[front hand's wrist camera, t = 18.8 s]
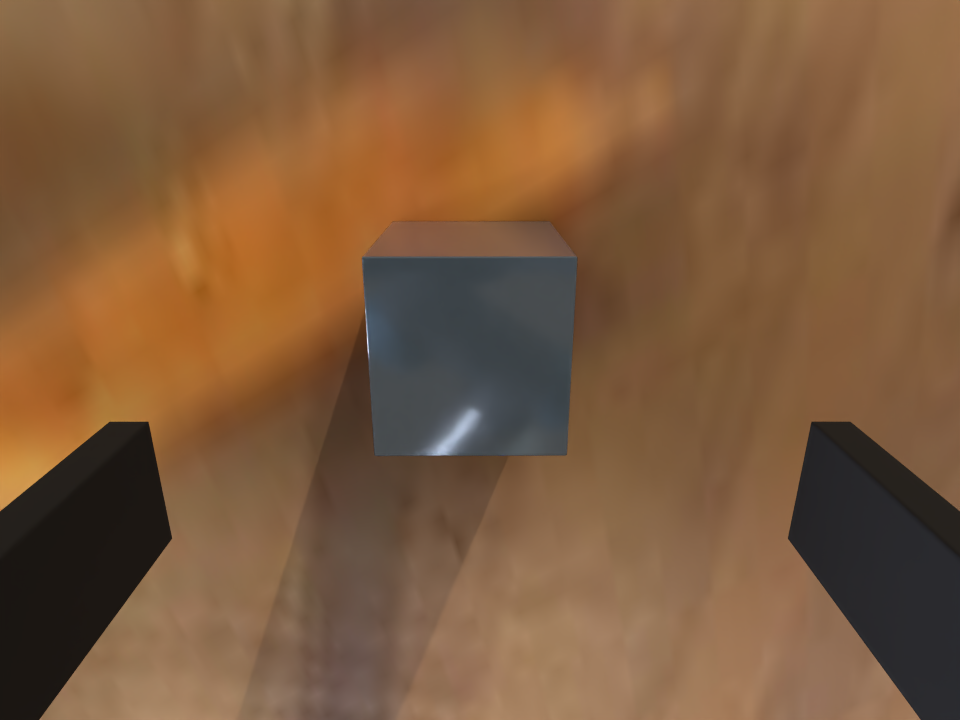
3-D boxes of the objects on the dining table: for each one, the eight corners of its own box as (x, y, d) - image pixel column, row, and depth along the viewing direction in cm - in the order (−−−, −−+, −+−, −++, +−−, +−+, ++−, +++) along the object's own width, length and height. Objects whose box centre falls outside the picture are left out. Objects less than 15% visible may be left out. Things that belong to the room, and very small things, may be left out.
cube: (544, 374, 28) (567, 456, 21) (399, 374, 28) (374, 456, 21) (550, 221, 26) (577, 256, 19) (392, 221, 26) (361, 256, 19)
